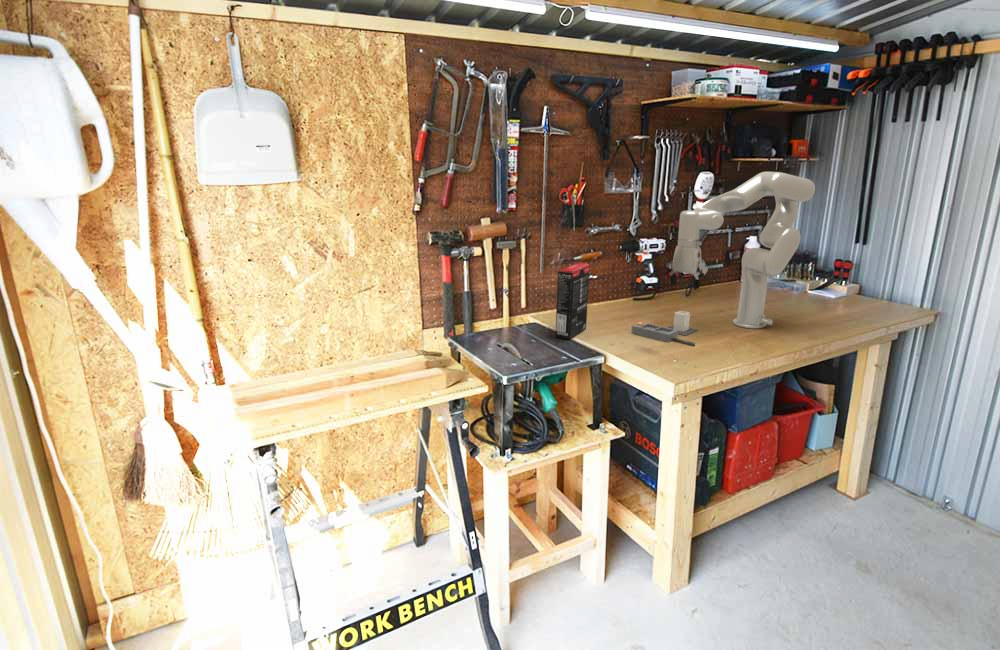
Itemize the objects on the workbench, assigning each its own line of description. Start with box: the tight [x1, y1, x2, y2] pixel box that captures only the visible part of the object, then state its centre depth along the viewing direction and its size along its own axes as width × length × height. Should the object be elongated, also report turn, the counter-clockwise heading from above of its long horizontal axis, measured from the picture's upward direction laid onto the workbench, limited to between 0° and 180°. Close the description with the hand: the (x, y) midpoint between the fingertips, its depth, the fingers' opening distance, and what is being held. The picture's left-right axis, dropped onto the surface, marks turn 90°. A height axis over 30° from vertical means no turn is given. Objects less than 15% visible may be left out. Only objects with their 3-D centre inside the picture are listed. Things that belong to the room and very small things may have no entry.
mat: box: [667, 324, 699, 337], centre depth 219 cm, size 10×10×1 cm
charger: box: [672, 310, 691, 332], centre depth 218 cm, size 4×4×7 cm
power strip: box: [631, 321, 696, 347], centre depth 210 cm, size 25×7×4 cm, turn 43°
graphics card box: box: [555, 262, 591, 340], centre depth 214 cm, size 17×7×27 cm, turn 149°
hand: (684, 286), depth 214 cm, fingers open, 9 cm apart
